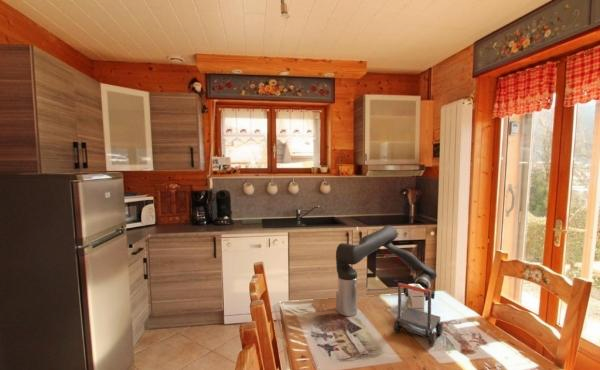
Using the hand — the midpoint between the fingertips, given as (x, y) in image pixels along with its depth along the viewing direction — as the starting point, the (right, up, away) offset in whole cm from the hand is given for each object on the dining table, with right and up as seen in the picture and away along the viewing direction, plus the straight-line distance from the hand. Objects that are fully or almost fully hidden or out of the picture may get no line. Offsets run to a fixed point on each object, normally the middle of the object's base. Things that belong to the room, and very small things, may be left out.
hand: (416, 296), depth 141 cm
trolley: (-5, -9, -16) cm, 19 cm away
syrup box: (-1, -9, -1) cm, 9 cm away
